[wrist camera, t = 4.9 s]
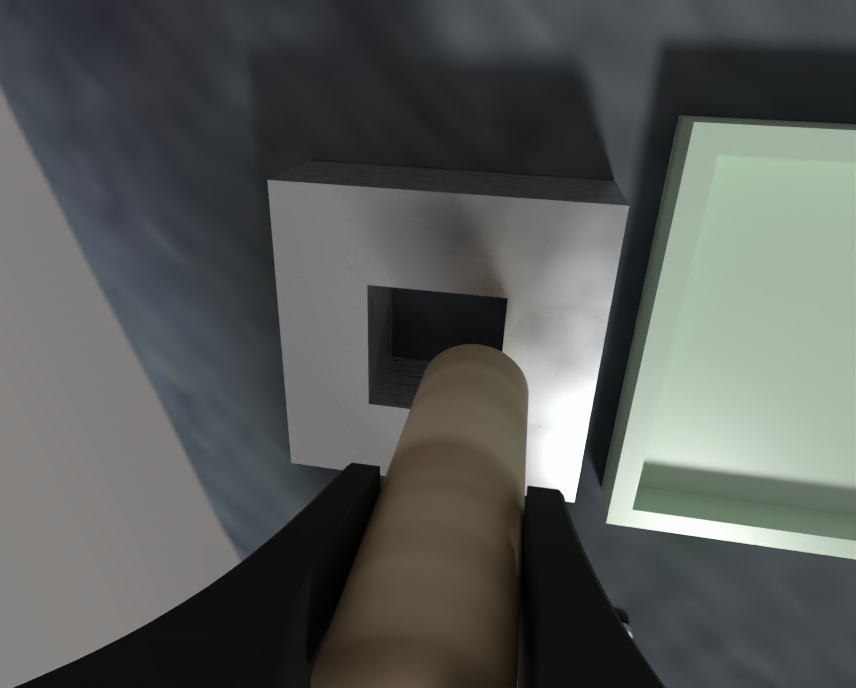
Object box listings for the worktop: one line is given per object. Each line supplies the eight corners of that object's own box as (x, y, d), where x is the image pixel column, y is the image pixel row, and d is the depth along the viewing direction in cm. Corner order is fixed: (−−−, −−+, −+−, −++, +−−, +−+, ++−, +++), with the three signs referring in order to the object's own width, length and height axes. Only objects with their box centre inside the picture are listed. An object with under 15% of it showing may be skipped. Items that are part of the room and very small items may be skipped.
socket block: (569, 442, 23) (574, 502, 20) (323, 411, 24) (291, 462, 21) (614, 180, 19) (629, 205, 16) (310, 160, 20) (267, 179, 17)
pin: (523, 443, 17) (506, 787, 9) (420, 430, 17) (316, 749, 9) (534, 349, 16) (525, 656, 8) (422, 338, 16) (303, 618, 8)
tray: (961, 537, 22) (998, 579, 20) (601, 488, 24) (605, 523, 22) (1189, 141, 16) (1271, 152, 14) (678, 115, 18) (694, 121, 16)
